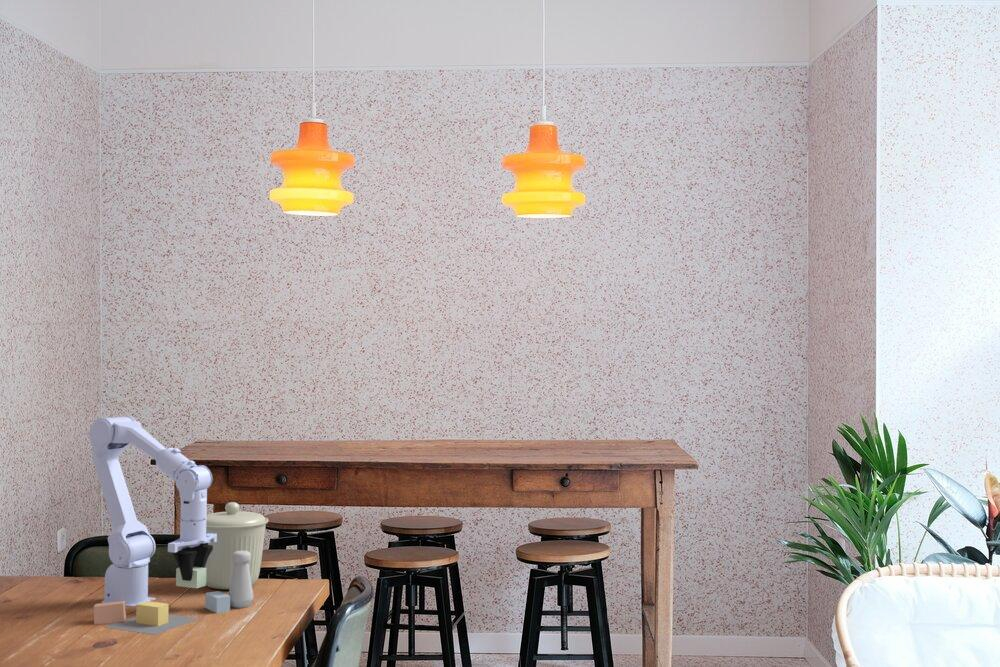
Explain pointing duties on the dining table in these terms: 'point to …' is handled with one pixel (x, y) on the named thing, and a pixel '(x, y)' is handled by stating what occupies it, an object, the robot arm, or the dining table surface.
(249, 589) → the salt shaker
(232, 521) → the canister
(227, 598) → the slate brick
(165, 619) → the mustard brick
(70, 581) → the dining table surface
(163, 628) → the felt mat
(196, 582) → the green brick
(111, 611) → the terracotta brick
